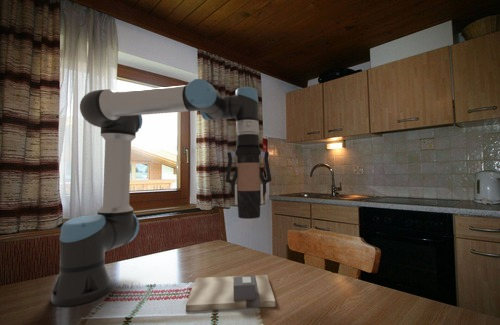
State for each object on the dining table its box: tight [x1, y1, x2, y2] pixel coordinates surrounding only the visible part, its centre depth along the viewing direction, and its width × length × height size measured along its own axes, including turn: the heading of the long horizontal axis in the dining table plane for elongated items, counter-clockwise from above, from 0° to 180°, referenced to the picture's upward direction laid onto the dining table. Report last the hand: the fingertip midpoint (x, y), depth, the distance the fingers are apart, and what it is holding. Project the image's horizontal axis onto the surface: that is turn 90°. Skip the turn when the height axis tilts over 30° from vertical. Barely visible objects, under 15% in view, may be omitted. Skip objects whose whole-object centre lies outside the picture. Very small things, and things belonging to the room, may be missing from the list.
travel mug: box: [236, 155, 261, 220], centre depth 82 cm, size 8×8×20 cm
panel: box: [185, 274, 276, 312], centre depth 76 cm, size 24×18×2 cm
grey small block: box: [233, 275, 256, 301], centre depth 71 cm, size 6×6×4 cm
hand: (248, 203), depth 82 cm, fingers closed on travel mug, 8 cm apart
